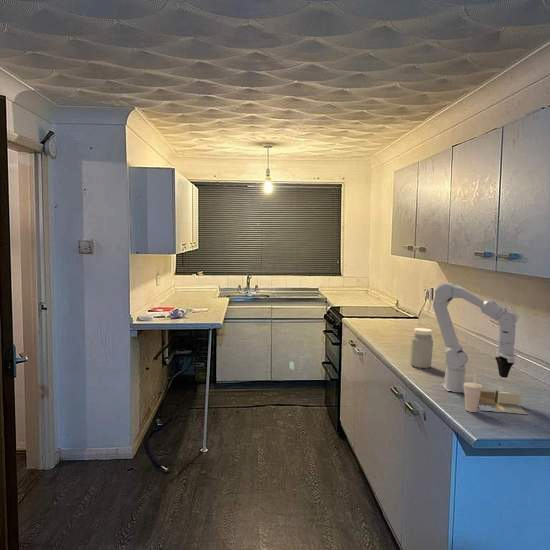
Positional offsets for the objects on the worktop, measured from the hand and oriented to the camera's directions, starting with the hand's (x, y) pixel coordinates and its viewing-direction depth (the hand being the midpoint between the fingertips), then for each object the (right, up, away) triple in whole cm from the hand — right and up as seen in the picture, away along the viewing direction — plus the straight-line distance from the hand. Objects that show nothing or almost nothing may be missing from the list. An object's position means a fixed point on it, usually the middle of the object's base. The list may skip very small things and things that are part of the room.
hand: (503, 376), depth 193 cm
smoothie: (-18, -10, -13) cm, 24 cm away
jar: (-19, -5, +46) cm, 50 cm away
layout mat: (-5, -10, -6) cm, 12 cm away
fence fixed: (-9, -9, -3) cm, 13 cm away
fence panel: (0, -9, -4) cm, 10 cm away
